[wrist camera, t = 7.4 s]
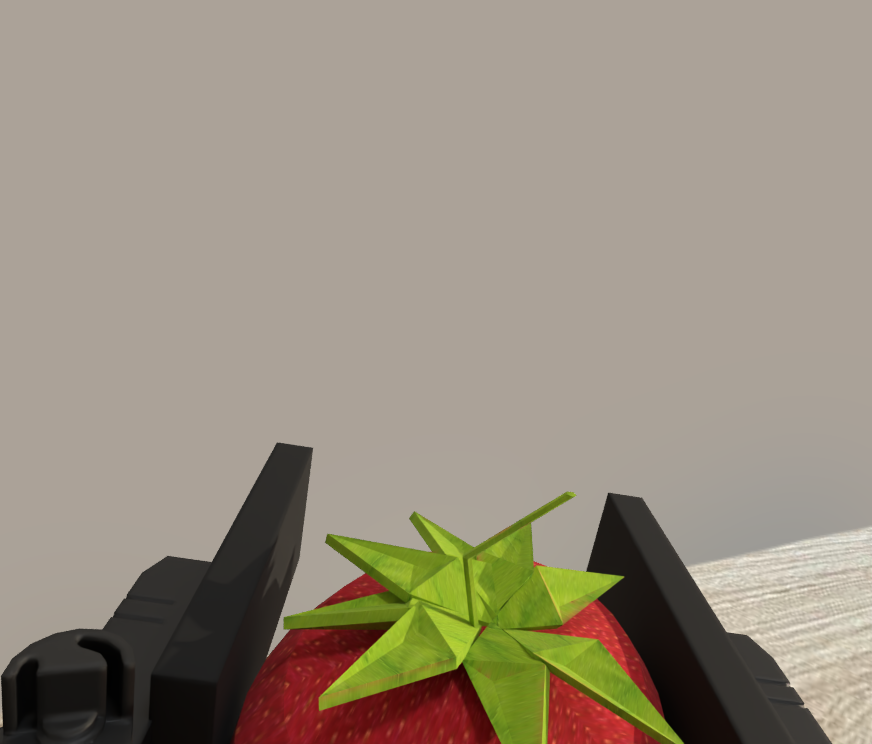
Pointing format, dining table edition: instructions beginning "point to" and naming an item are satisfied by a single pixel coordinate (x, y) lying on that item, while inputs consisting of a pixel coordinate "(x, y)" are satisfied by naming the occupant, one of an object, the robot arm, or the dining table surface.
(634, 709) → the strawberry
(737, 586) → the dining table surface
